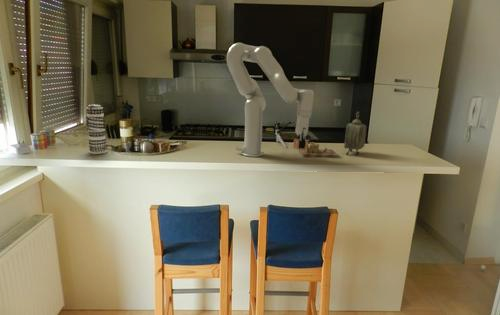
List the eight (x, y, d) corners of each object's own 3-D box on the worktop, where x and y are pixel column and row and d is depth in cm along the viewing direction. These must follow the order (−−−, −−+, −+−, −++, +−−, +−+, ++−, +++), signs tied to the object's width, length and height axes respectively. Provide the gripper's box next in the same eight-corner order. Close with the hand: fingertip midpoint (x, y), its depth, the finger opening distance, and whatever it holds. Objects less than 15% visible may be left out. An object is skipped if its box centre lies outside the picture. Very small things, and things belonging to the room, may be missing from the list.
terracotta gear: (294, 149, 173) (295, 141, 172) (292, 146, 180) (292, 138, 179) (308, 150, 173) (309, 142, 172) (305, 147, 181) (306, 139, 179)
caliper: (276, 142, 221) (276, 132, 219) (277, 141, 221) (278, 132, 220) (285, 148, 202) (286, 138, 200) (287, 148, 202) (287, 138, 200)
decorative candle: (89, 154, 170) (85, 105, 164) (87, 150, 178) (83, 104, 172) (108, 153, 175) (105, 105, 168) (106, 149, 182) (102, 103, 176)
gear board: (303, 156, 182) (304, 142, 180) (298, 151, 195) (299, 137, 193) (338, 157, 183) (340, 142, 181) (331, 151, 196) (333, 138, 194)
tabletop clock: (348, 150, 201) (353, 109, 195) (363, 152, 197) (369, 111, 191) (343, 155, 189) (347, 111, 183) (359, 157, 185) (364, 113, 179)
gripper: (294, 111, 180) (290, 142, 185) (300, 115, 163) (296, 149, 168) (307, 112, 181) (303, 143, 185) (315, 116, 164) (310, 150, 168)
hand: (300, 146), depth 176 cm, fingers closed on terracotta gear, 7 cm apart
